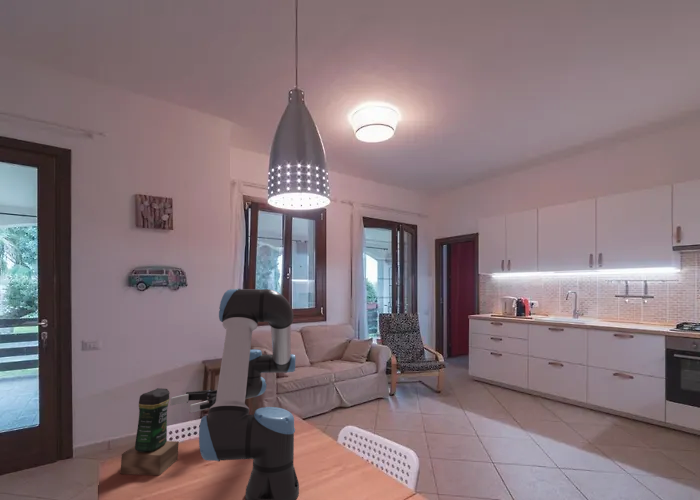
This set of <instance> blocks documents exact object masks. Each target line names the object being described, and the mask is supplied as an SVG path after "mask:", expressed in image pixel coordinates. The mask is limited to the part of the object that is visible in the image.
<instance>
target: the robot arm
mask: <svg viewBox="0 0 700 500" xmlns="http://www.w3.org/2000/svg"><path fill="white" fill-rule="evenodd" d="M218 310H219V311H218V319H219V321H220V322H221V323H222V327H223V328H224V329H225V336H224V337H225V338H224V343H223V349H222V350H223V351H222V357H221V364H220V370H219V377H218V383H217V389H215V390H214V389H212V388H211V389H207V390H197V391H186V393H185V394H181V395H177V396H173V397H170V403H169V404H170V406H176V405H179V404H183V403H185V404H187V403H189V402H190V401H200V402H197V403H192V404H190V405H189V414H193V413H196V412H202V411H204V410H208V414H206V415H204V416H202V417H201V418H200V423H199V427H198V428H199V430H198V447H199V452H200V456H201V457H202V459H203V460H205V461H207V462H209V461H210V462H211V461H212V462H213V461H215V462H221V461H238V460H252V470H251V472H250V475H249V478H248V482H247V485H246V488H245V497H244V498H245V500H297V498H298V496H299V494H300V483H299V480H298V475H297V472H296V470H295V466H294V459H295V452H294V451H295V449H294V447H295V443H294V442H295V432H296V429H295V417H294V415H293V414H292V412H290V411H289V410H287V409H285V408H282V407H276V406H265V407H259V408H257V409H256V410H255V411H254V413H253V414H250V408H249V407H248V405H247V404H246V403H245V402H246V400H247V399H252V398H256V397H259V396H261V395H264V393H265V392H266V391H267V383H266V379H265V378H264V377H262V374H267V373H269V374H271V373H273V374H274V373H278V374H279V373H281V374H283V373H285V374H286V373H294V372H295V371H296V354H293V353H292V337H291V335H292V332H291V331H292V330H291V329H292V327H291V325H292V324H293V323H294V311H293V307H292V305H291V303H290V302H289V300H288V299H287V298H286V297H285V296H284V295H283V294H282V293H280V292H278V291H277V290H274V289H269V288H265V289H260V288H259V289H257V288H256V289H255V288H254V289H253V288H250V289H249V288H244V289H243V288H233V289H227V290H226V291H225V292H224V293H223V295H222V298H221V300H220V304H219V309H218ZM259 323H268V326H269V327H270V334H271V335H270V337H271V348H272V349H271V350H272V352H271V353H272V354H264V353H262V350H261V349H256V348H255V349H251V348H252V347H251V346H252V339H253V331H255V330H256V329H257V328H258V325H259Z"/></svg>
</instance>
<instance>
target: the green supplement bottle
mask: <svg viewBox="0 0 700 500" xmlns="http://www.w3.org/2000/svg"><path fill="white" fill-rule="evenodd" d="M169 402H170V391H169V389H168V388H162V387H161V388H159V387H158V388H155V389H153V390H150V391H147V392H144V393H142V394H141V395H139V400H138V411H139V412H138V421H137V429H136V437H135V444H134V446H135V450H137V451H139V452H147V451H154V450H156V449H158V448H160V447H161V446H163V445H164V444H165V443H166V441H168V440H167V437H168V435H167V434H168V429H167V427H168V423H167V422H168V409H169V408H168V407H169V404H170V403H169Z"/></svg>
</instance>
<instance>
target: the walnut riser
mask: <svg viewBox="0 0 700 500" xmlns="http://www.w3.org/2000/svg"><path fill="white" fill-rule="evenodd" d="M120 459H121V460H120V472H119V473H120V474H119V475H141V476H142V475H144V476H146V475H147V476H160V475H162V474H163V473H164V472H165V471H166V470H167V469H168V468H170V467H171V466H173V464H174V463H175V462H177V461H178V459H179V441H175V440H172V441H171V440H167V441H166V443H165V444H164V445H163V446H161V447H160V448H158V449H156V450H154V451H147V452H139V451H137V450H135V445H134V446H132V447H130V448H129V449H127V450H126V451H124V452H123V453H121V457H120Z"/></svg>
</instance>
